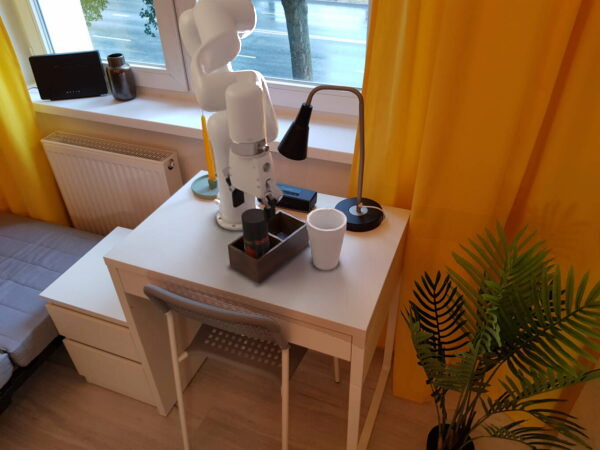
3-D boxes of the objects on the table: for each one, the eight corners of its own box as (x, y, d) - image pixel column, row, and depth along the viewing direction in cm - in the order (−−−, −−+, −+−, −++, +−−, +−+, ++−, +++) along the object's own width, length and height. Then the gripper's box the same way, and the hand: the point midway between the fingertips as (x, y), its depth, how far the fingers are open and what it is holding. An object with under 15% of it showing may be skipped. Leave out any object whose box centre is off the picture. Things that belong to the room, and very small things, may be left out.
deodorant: (274, 267, 120) (271, 217, 111) (253, 276, 117) (248, 226, 109) (262, 254, 124) (259, 205, 115) (242, 262, 122) (236, 213, 113)
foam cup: (301, 254, 124) (300, 212, 116) (334, 246, 127) (336, 204, 119) (315, 278, 117) (316, 234, 109) (350, 268, 119) (353, 225, 112)
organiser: (230, 267, 120) (227, 245, 116) (280, 230, 132) (279, 209, 128) (259, 284, 115) (257, 261, 111) (309, 245, 127) (309, 223, 123)
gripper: (292, 149, 99) (294, 218, 109) (232, 127, 108) (238, 193, 118) (267, 163, 94) (271, 234, 104) (206, 139, 103) (215, 206, 113)
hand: (254, 212), depth 111 cm, fingers open, 9 cm apart
